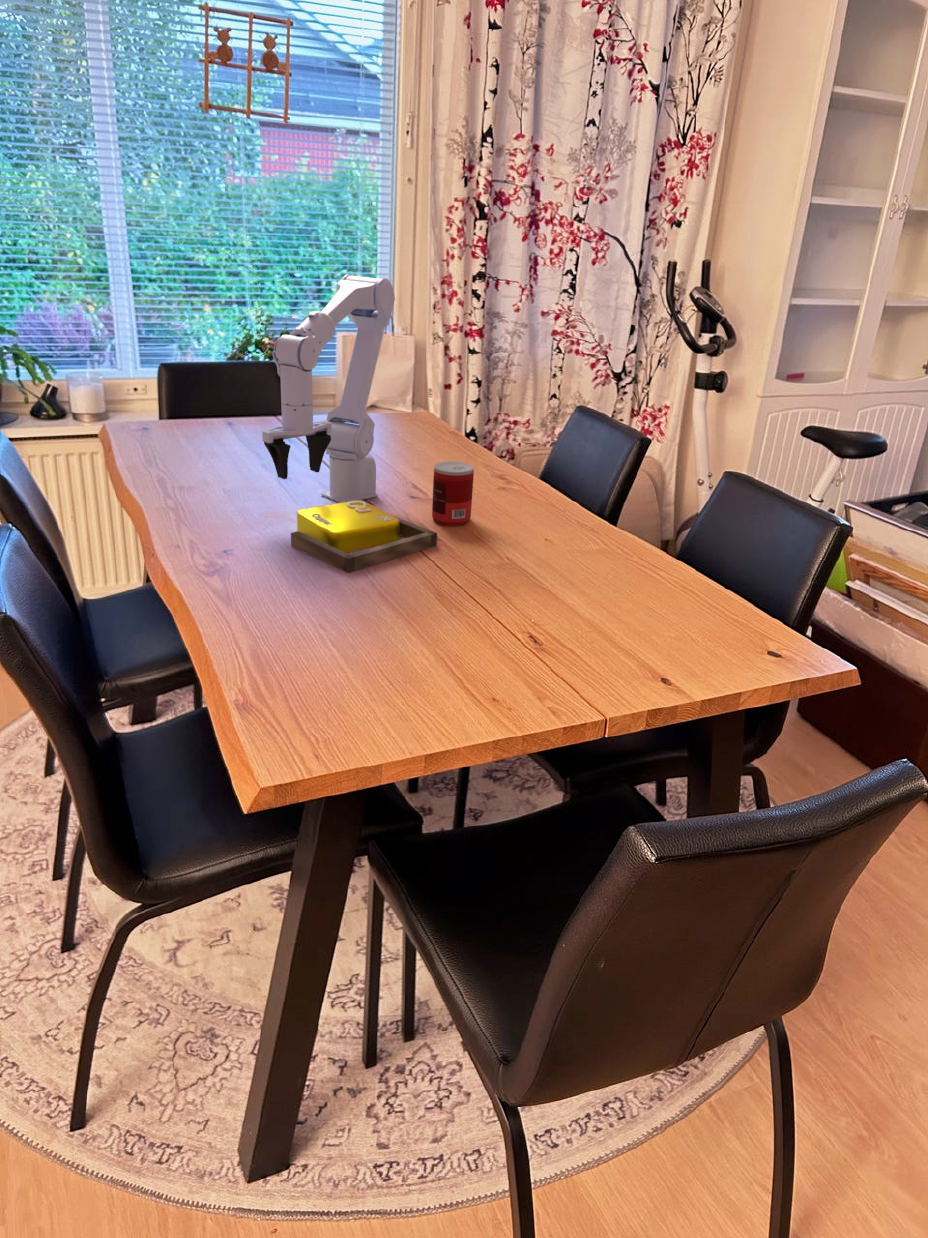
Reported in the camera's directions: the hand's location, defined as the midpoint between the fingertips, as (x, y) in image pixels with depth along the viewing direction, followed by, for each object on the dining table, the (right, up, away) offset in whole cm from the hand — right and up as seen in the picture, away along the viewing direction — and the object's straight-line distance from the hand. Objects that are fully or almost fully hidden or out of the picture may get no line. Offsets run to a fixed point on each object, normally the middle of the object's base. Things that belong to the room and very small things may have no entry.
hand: (298, 474), depth 171 cm
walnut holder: (+13, -14, -8) cm, 21 cm away
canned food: (+29, -8, +8) cm, 31 cm away
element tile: (+10, -13, -3) cm, 16 cm away
